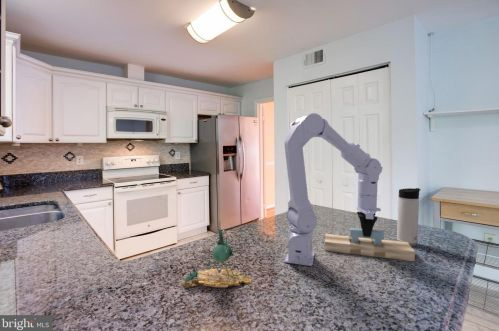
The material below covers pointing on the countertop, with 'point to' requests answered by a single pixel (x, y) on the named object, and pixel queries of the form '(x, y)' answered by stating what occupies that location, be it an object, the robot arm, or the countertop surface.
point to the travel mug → (408, 215)
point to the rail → (369, 247)
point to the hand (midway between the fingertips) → (366, 235)
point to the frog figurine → (214, 275)
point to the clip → (376, 235)
